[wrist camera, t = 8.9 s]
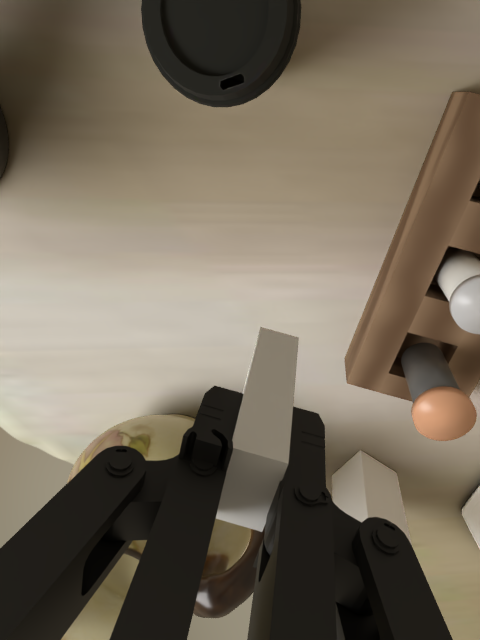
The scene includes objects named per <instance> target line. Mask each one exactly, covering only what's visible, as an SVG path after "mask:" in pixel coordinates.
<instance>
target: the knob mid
mask: <svg viewBox="0 0 480 640" xmlns="http://www.w3.org/2000/svg"><path fill="white" fill-rule="evenodd" d="M434 278H435V280H436V281H437V283H438V285H439V286H440V288H441V289H442V291H443V293H444V294H445V296H446V297H447V299H448V301H449V309H450V313H451V315H452V317H453V319H454V320H455V322H456V323H457V325H458V326H459V327H460V328H462V329H463V330H465V331H467V332H470V333H473V334H480V260H479V259H478V258H477V257H476V256H475V255H474V254H473V253H472V252H470V251H466V250H463V249H459V248H451V249H448V250H446V252H445V254H444V256H443V258H442V260H441V262H440V264H439V267H438V269H437V271H436V273H435V275H434Z"/></svg>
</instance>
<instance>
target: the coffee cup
mask: <svg viewBox="0 0 480 640" xmlns="http://www.w3.org/2000/svg"><path fill="white" fill-rule="evenodd" d="M141 11H142V24H143V31H144V35H145V39H146V43H147V46H148V49H149V51H150V54H151V56H152V58H153V61H154V63H155V64H156V66H157V67H158V69H159V70H160V72H161V74H162V75H163V76H164V77H165V79H166V80H167V81H168V82H169V83H170V84H171V85H172V86H173V87H174V88H175V89H176V90H177V91H179V92H180V93H181V94H183V95H184V96H185V97H187V98H189V99H191V100H193V101H195V102H197V103H199V104H203V105H207V106H212V107H232V106H236V105H241V104H244V103H246V102H248V101H251V100H253V99H255V98H257V97H258V96H260V95H261V94H262V93H264V92H265V91H266V90H268V89H269V88H270V87H271V86H272V85H273V84H274V82H275V81H276V80H277V79H278V78H279V77H280V76H281V74H282V72H283V71H284V69H285V68H286V66H287V64H288V63H289V61H290V59H291V56H292V54H293V51H294V49H295V46H296V43H297V38H298V34H299V29H300V19H301V2H300V0H142V8H141Z"/></svg>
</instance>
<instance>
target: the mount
mask: <svg viewBox="0 0 480 640" xmlns="http://www.w3.org/2000/svg"><path fill="white" fill-rule="evenodd" d="M479 179H480V94H476V93H472V92H452V94H451V97H450V99H449V101H448V104H447V106H446V109H445V111H444V114H443V116H442V119H441V121H440V124H439V126H438V129H437V131H436V134H435V136H434V139H433V141H432V144H431V146H430V148H429V151H428V153H427V156H426V158H425V161H424V163H423V166H422V168H421V171H420V173H419V176H418V178H417V181H416V183H415V186H414V188H413V191H412V193H411V195H410V198H409V200H408V203H407V205H406V208H405V210H404V213H403V215H402V218H401V220H400V223H399V225H398V228H397V230H396V233H395V235H394V237H393V240H392V242H391V245H390V247H389V250H388V252H387V255H386V257H385V260H384V262H383V265H382V267H381V270H380V272H379V275H378V277H377V280H376V282H375V284H374V287H373V289H372V292H371V294H370V297H369V299H368V302H367V304H366V307H365V309H364V312H363V314H362V317H361V319H360V322H359V324H358V327H357V329H356V331H355V334H354V336H353V339H352V341H351V344H350V346H349V349H348V351H347V354H346V356H345V368H346V379H347V383H348V384H351V385H355V386H358V387H362V388H366V389H369V390H373V391H376V392H380V393H383V394H387V395H391V396H394V397H398V398H401V399H405V400H409V401H412V397H411V394H410V391H409V387H408V384H407V381H406V378H405V374H404V371H403V368H402V364H401V358H402V355H403V353H404V352H405V350H406V349H407V348H409V347H410V346H412V345H414V344H417V343H431V344H434V345H436V346H437V347H438V348H440V350H441V351H442V353H443V355H444V357H445V359H446V361H447V363H448V365H449V367H450V369H451V372H452V374H453V376H454V378H455V380H456V382H457V384H458V386H459V388H460V390H461V391H463V392H464V393H465V394H467V395H468V397H470V395H471V393H472V392H473V390H474V388H475V387H476V385H477V383H478V381H479V380H480V334H473V333H470V332H467V331H465V330H463V329H462V328H460V327H459V326H458V325H457V323H456V322H455V320H454V319H453V317H452V315H451V313H450V309H449V301H448V299H447V297H446V296H445V294H444V293H443V291H442V289H441V288H440V286H439V285H438V283H437V281H436V280H435V278H434V275H435V273H436V271H437V269H438V267H439V264H440V262H441V260H442V258H443V256H444V254H445V252H446V250H448V249H451V248H459V249H463V250H466V251H470V252H472V253H473V254H474V255H475V256H476V257H477V258H478V259H479V260H480V189H479V187H478V185H477V184H478V181H479ZM412 402H413V401H412Z"/></svg>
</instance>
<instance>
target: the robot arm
mask: <svg viewBox="0 0 480 640" xmlns="http://www.w3.org/2000/svg"><path fill="white" fill-rule="evenodd" d="M7 158H8V133H7V127H6V123H5V119H4V116H3V113H2V110H1V107H0V178H1V176H2V174H3V172H4V169H5V166H6V163H7ZM298 339H299V338H298V337H295V336H291V335H287V334H284V333H280V332H276V331H273V330H269V329H266V328H262V327H261V328H260V331H259V335H258V338H257V342H256V345H255V349H254V353H253V356H252V360H251V363H250V367H249V370H248V374H247V377H246V381H245V384H244V388H243V392H242V393H239V392H235V391H232V390H228V389H224V388H221V387H217V386H214V387H213V388H211V389H210V390H209V391H207V392H206V393H205V395H204V398H203V400H202V403H201V406H200V408H199V411H198V414H197V416H196V419H195V422H194V424H193V427H191V428H189V429H187V431H186V432H185V434H184V435H183V439H182V443H181V448H180V452H179V454H178V455H176V456H175V457H173V458H170V459H167V460H158V461H153V460H145V458H144V456H143V455H142V454H141V453H140V452H139V451H138V450H136V449H134V448H131V447H128V446H113V447H109V448H106V449H104V450H103V451H101V452H100V453H98V454H97V455H96V456H95V457H94V458H93V459H92V460H91V461H90V462H89V463H88V464H87V465H86V466H85V467H84V468H83V469H82V470H81V471H80V472H79V473H78V474H77V475H76V476H75V477H74V478H73V479H72V480H70V481H69V482H68V483H67V484H66V486H64V487H63V488H62V489H61V490H60V491H59V492H58V493H57V494H56V495H55V496H54V497H53V498H52V499H51V500H50V501H49V502H48V503H47V504H46V505H45V506H44V507H43V508H42V509H41V510H40V511H39V512H37V513H36V514H35V515H34V516H33V517H32V518H31V519H30V520H29V521H28V522H27V523H26V524H25V525H24V526H23V527H22V528H21V529H20V530H19V531H18V532H17V533H16V534H15V535H14V536H13V537H12V538H11V539H10V540H9V541H8V542H7V543H6V544H5V545H3V547H2V548H0V640H61V639H62V637H63V636H64V634H65V633H66V632H67V630H68V629H69V628H70V626H71V625H72V624H73V622H74V621H75V619H76V618H77V617H78V615H79V614H80V613H81V611H82V610H83V608H84V607H85V606H86V604H87V603H88V602H89V600H90V599H91V598H92V596H93V595H94V593H95V592H96V591H97V589H98V588H99V587H100V585H101V584H102V583H103V581H104V580H105V578H106V577H107V576H108V574H109V573H110V572H111V570H112V569H113V568H114V566H115V565H116V563H117V562H118V561H119V559H120V558H121V557H122V555H123V554H124V552H125V551H126V550H127V548H128V547H129V546H130V544H131V543H132V541H135V540H147V542H146V545H145V547H144V550H143V552H142V555H141V558H140V560H139V563H138V566H137V568H136V571H135V574H134V576H133V579H132V581H131V584H130V587H129V589H128V592H127V595H126V597H125V600H124V603H123V605H122V608H121V610H120V613H119V616H118V618H117V621H116V624H115V626H114V629H113V632H112V634H111V637H110V639H109V640H187V636H188V632H189V628H190V623H191V619H192V615H193V611H194V607H195V603H196V598H197V594H198V590H199V586H200V582H201V577H202V573H203V569H204V565H205V561H206V556H207V552H208V548H209V544H210V540H211V535H212V531H213V527H214V523H215V519H219V520H223V521H226V522H230V523H233V524H236V525H240V526H243V527H247V528H250V529H254V530H257V531H260V532H262V531H263V529H264V526H265V524H266V526H265V534H264V539H263V541H262V544H261V547H260V549H259V552H258V554H257V557H256V559H255V562H254V565H253V567H254V568H257V571H256V579H255V586H254V594H253V601H252V609H251V617H250V624H249V632H248V639H247V640H453V639H452V637H451V635H450V632H449V630H448V628H447V626H446V623H445V621H444V619H443V616H442V614H441V612H440V609H439V607H438V605H437V603H436V600H435V598H434V596H433V593H432V591H431V589H430V587H429V584H428V582H427V580H426V577H425V575H424V573H423V571H422V568H421V566H420V564H419V561H418V559H417V557H416V555H415V552H414V550H413V548H412V545H411V543H410V541H409V540H408V538H407V536H406V535H405V533H404V532H403V531H402V530H401V529H400V528H399V527H398V526H397V525H395V524H394V523H392V522H390V521H388V520H387V519H383V518H379V517H370V518H367V519H366V520H364V521H363V522H360V521H358V520H356V519H355V518H353V517H351V516H350V515H348V514H346V513H345V512H343V511H342V510H341V509H339V508H338V507H337V506H336V505H335V504H334V503H333V501H332V498H331V494H330V493H329V491H328V490H327V488H326V478H325V450H324V449H325V440H324V438H325V426H324V424H323V422H322V420H321V418H320V416H319V414H317V413H314V412H310V411H307V410H303V409H300V408H296V407H293V401H294V389H295V376H296V364H297V352H298Z"/></svg>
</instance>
